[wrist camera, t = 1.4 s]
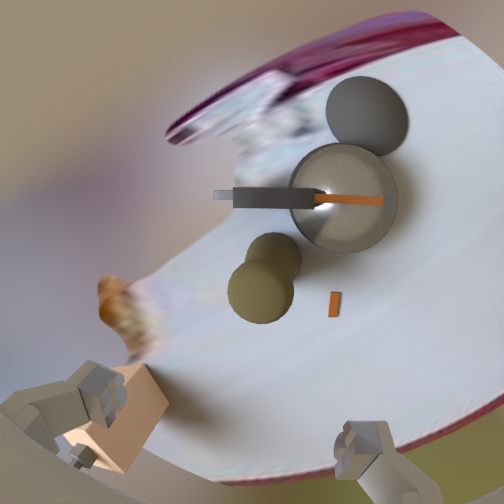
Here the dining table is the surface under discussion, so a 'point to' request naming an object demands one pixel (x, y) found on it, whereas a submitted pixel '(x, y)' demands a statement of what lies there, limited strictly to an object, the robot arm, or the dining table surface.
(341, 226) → the saucepan
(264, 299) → the cork
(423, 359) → the dining table surface
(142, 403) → the soap dispenser
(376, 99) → the coaster
